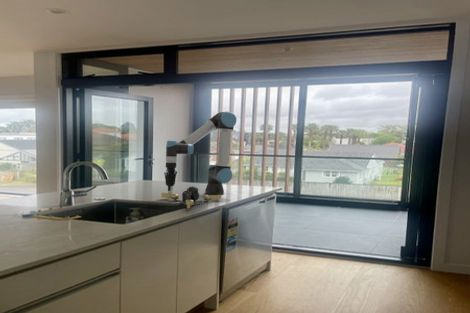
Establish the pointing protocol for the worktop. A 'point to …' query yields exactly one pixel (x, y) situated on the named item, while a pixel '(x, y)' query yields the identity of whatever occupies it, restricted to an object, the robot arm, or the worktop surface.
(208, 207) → the worktop surface
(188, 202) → the tribrach
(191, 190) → the camera
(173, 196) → the knob lever
